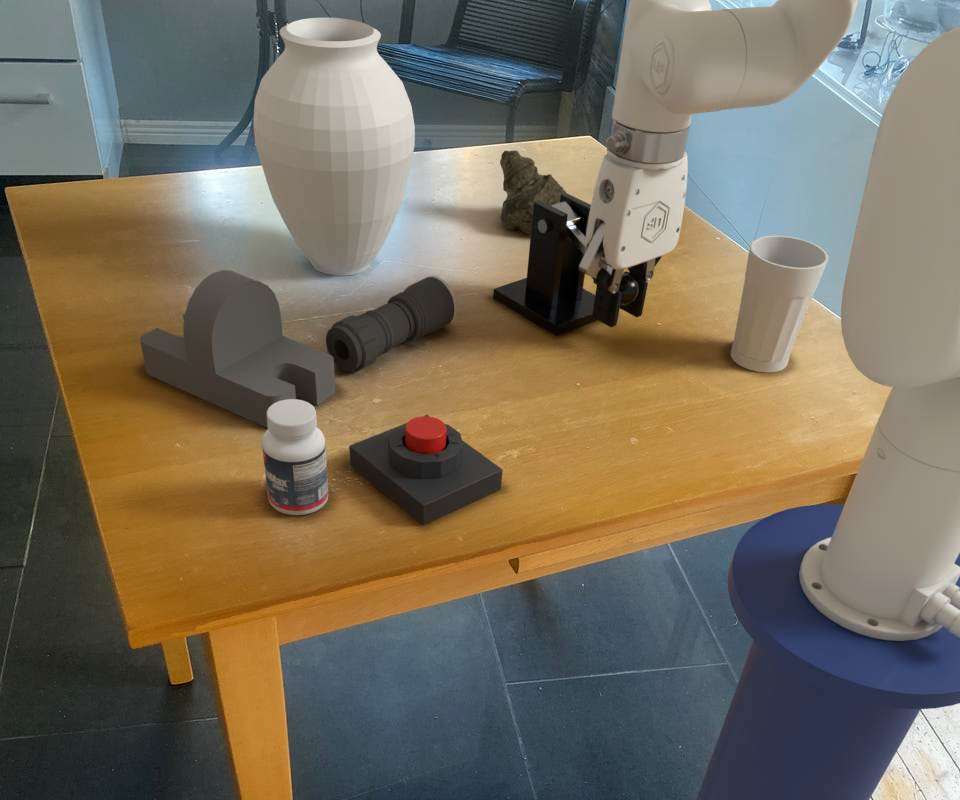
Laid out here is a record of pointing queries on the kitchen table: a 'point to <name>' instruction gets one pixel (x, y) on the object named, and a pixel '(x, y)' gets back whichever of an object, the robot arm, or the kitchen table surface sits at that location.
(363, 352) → the flashlight
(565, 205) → the lever
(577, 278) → the bracket
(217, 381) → the bracket
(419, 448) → the button
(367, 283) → the kitchen table surface
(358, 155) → the vase
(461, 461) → the button block
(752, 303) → the cup
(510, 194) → the brown rock
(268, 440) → the pill bottle
